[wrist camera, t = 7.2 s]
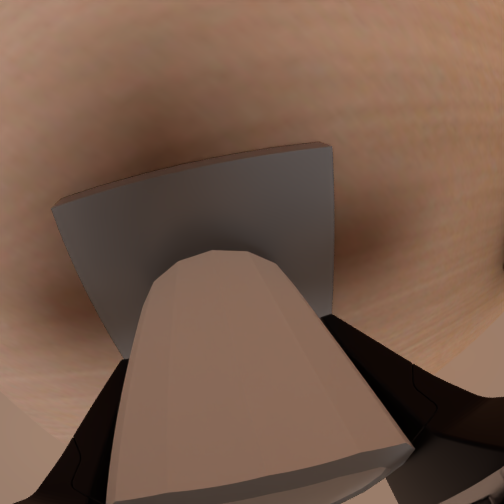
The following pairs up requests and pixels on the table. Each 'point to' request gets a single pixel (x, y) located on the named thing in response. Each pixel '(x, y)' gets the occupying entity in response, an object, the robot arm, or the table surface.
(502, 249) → the table surface
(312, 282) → the slate plate
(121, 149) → the table surface
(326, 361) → the white cup
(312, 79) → the table surface
